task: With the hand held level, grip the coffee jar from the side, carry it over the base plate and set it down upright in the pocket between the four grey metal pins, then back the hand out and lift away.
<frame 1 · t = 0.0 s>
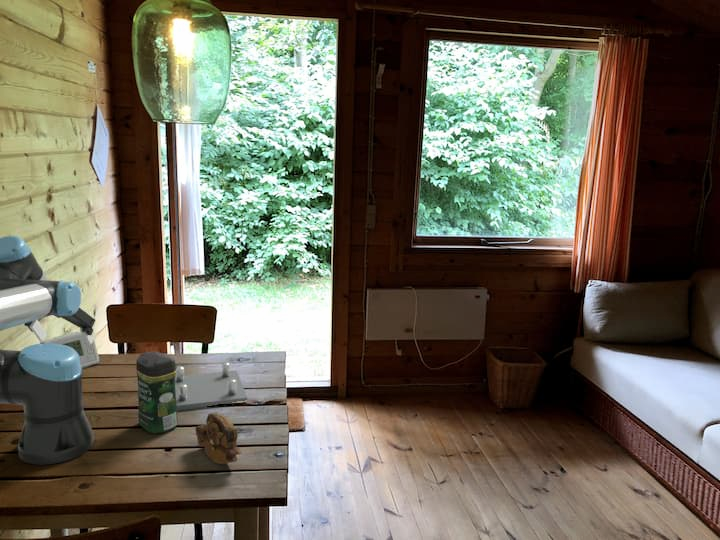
hand: (67, 338, 156), 15 cm above the table, tool tilted 35°, fingers open, 13 cm apart
digital clock: (71, 369, 174), on the table
coffee jar: (158, 426, 142), on the table
wooden carving: (217, 460, 128), on the table
base plate: (205, 391, 162), on the table
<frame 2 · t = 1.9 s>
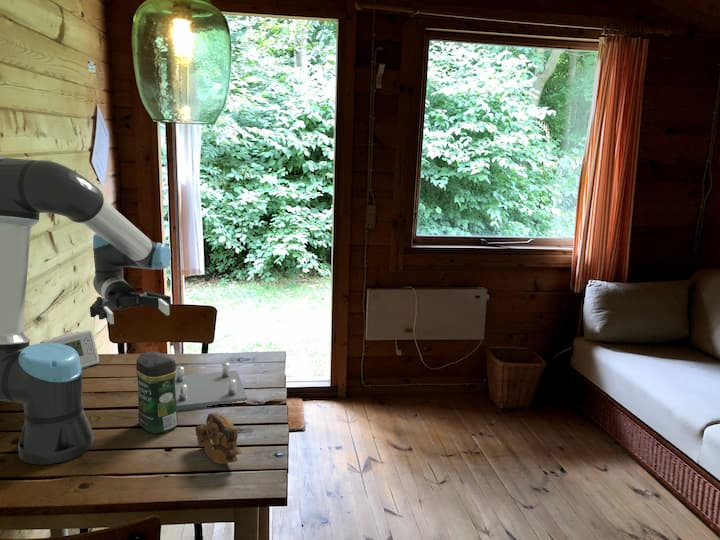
hand: (140, 314, 143), 26 cm above the table, tool horizontal, fingers open, 13 cm apart
nothing on the table moved.
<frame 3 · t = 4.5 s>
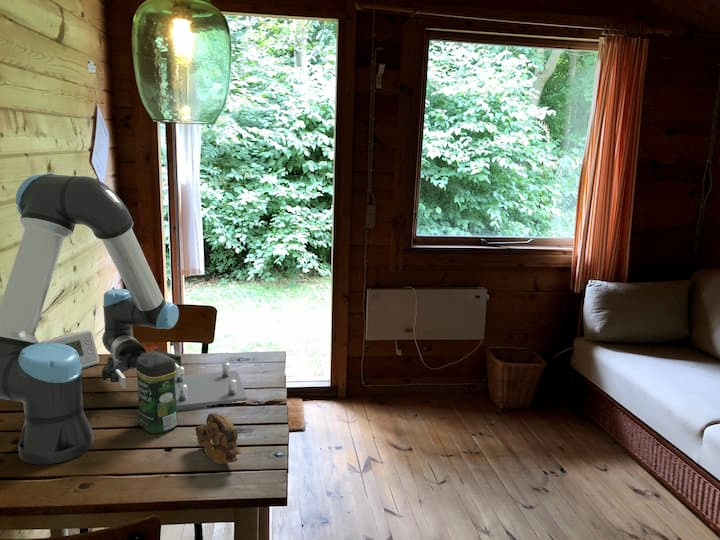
hand: (152, 377, 144), 10 cm above the table, tool horizontal, fingers open, 13 cm apart
nothing on the table moved.
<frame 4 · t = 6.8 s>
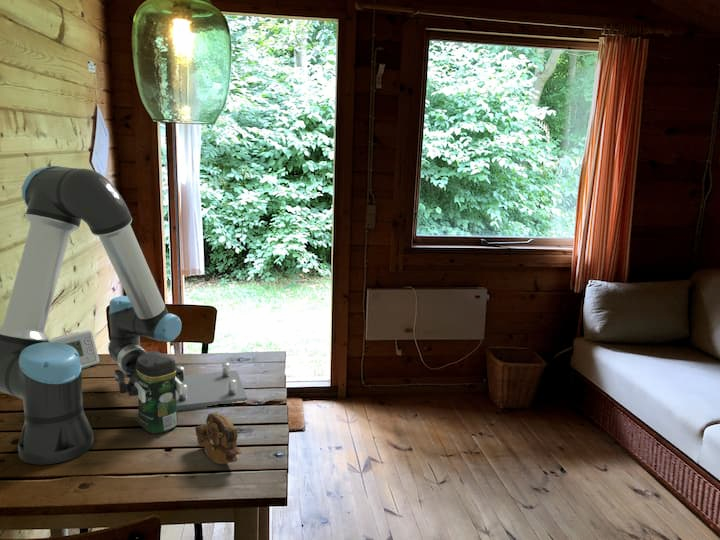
hand: (162, 393, 136), 11 cm above the table, tool horizontal, fingers closed on coffee jar, 8 cm apart
coffee jar: (158, 426, 142), on the table, touching gripper
everything else where it was.
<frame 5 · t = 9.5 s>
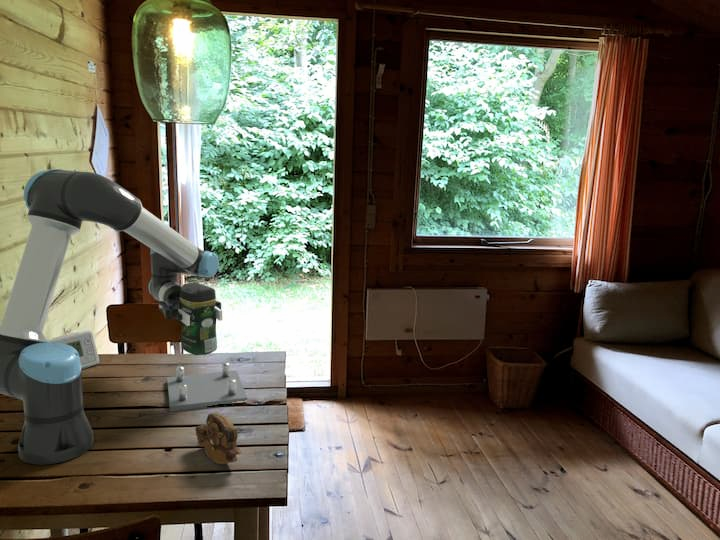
hand: (204, 318, 150), 24 cm above the table, tool horizontal, fingers closed on coffee jar, 8 cm apart
coffee jar: (199, 351, 156), point 13 cm above the table, touching gripper
everything else where it was.
when the fingers open (13 cm above the table, at t = 12.1 s): coffee jar drops 1 cm, resting on base plate.
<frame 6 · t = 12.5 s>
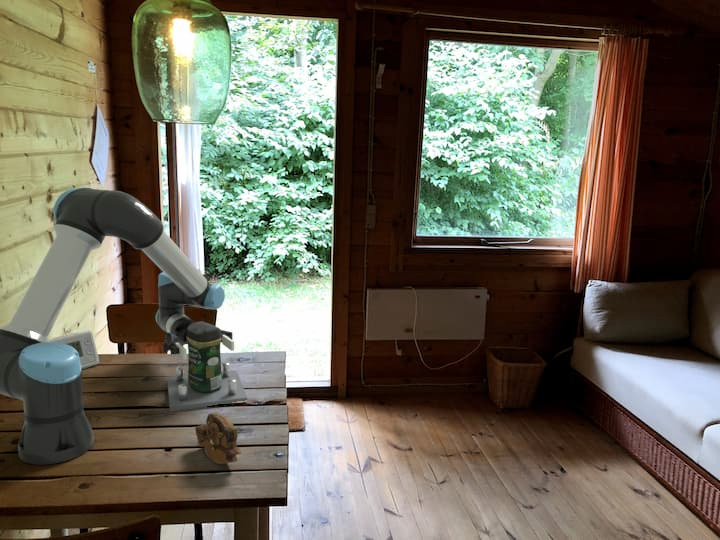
hand: (209, 350, 156), 13 cm above the table, tool horizontal, fingers open, 13 cm apart
coffee jar: (205, 387, 161), point 1 cm above the table, touching base plate
everything else where it was.
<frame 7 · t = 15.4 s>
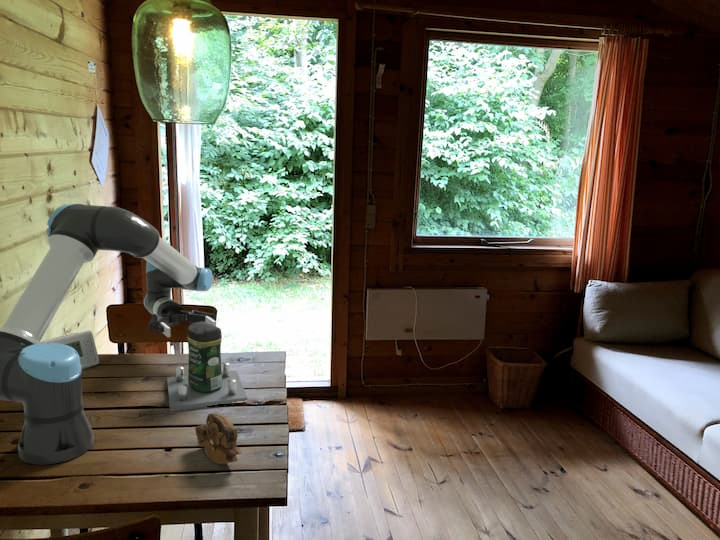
hand: (192, 329, 166), 16 cm above the table, tool horizontal, fingers open, 13 cm apart
nothing on the table moved.
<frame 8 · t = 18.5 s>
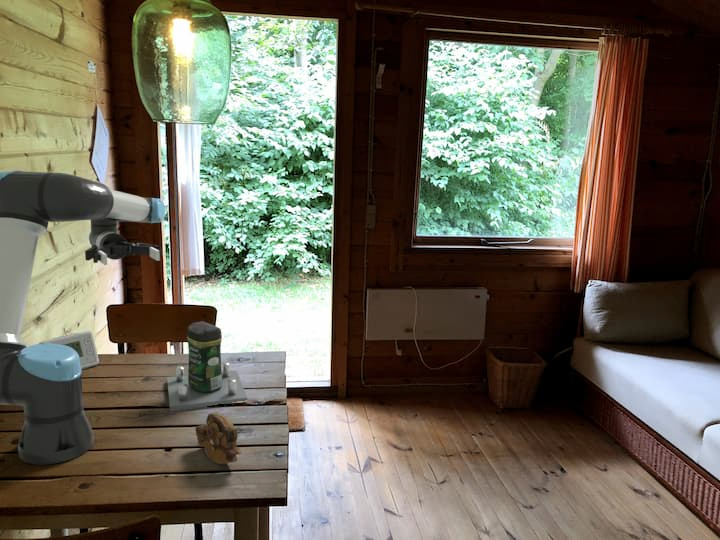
hand: (132, 257, 153), 38 cm above the table, tool horizontal, fingers open, 13 cm apart
nothing on the table moved.
at the end: coffee jar 0.1 cm off-centre on the base plate, point 1.3 cm above the base plate's base; coffee jar tilted 0°; the gripper is holding nothing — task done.
